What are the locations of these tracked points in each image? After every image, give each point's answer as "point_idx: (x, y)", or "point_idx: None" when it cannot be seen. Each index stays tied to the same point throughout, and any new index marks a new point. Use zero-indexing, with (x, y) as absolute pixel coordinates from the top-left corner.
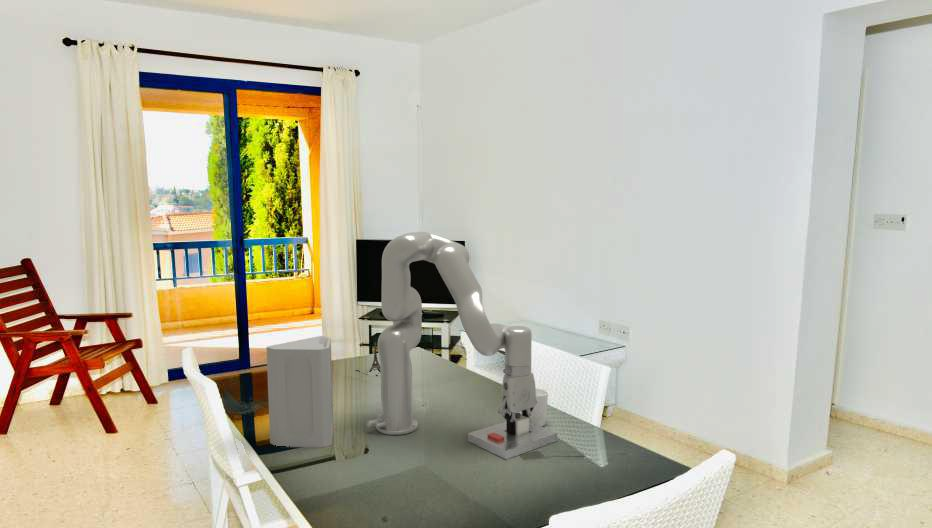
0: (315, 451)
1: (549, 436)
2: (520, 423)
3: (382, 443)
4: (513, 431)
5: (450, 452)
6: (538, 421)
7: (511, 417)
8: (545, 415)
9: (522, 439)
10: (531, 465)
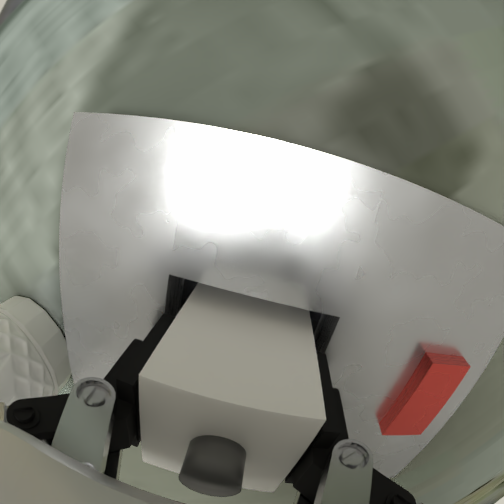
0: (485, 499)
1: (151, 119)
2: (280, 389)
3: (447, 501)
4: (324, 374)
5: (484, 421)
6: (29, 324)
7: (371, 480)
8: None
9: (367, 260)
10: (499, 90)
